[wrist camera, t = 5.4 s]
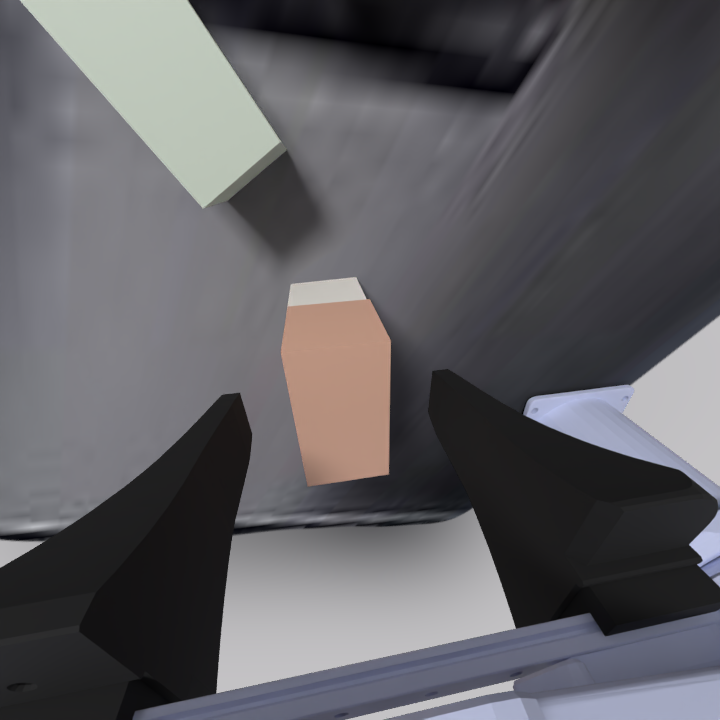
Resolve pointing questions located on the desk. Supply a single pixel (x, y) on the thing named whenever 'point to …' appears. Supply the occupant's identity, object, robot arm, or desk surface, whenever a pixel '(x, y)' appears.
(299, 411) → the terracotta brick
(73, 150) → the desk surface
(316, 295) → the cream brick
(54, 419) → the desk surface
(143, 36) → the sage brick
